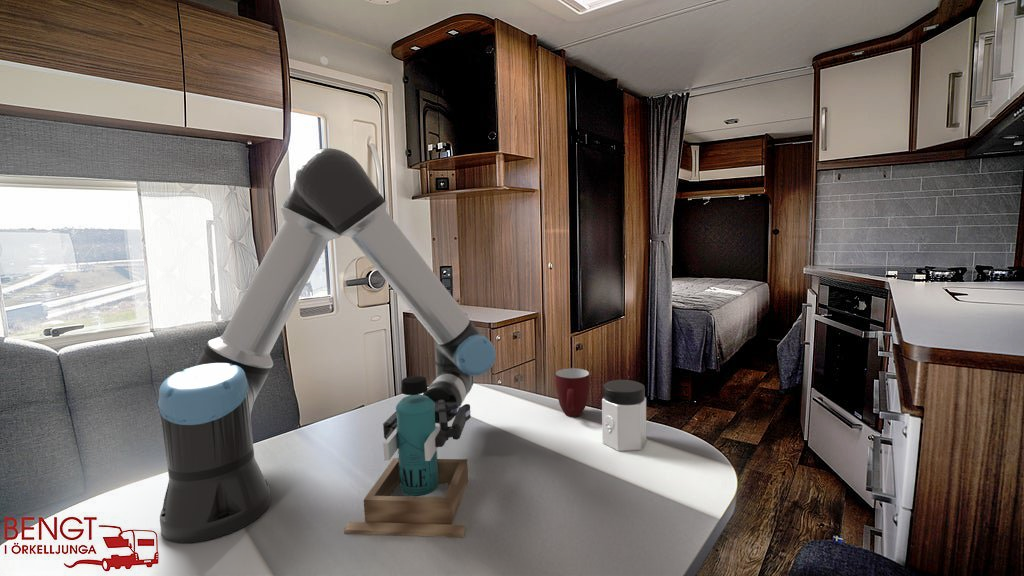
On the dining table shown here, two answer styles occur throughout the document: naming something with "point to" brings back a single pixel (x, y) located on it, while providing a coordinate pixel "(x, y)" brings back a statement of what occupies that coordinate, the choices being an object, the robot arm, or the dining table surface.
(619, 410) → the jar
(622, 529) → the dining table surface
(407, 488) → the beverage bottle
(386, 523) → the square wooden frame
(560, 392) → the mug
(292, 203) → the robot arm
